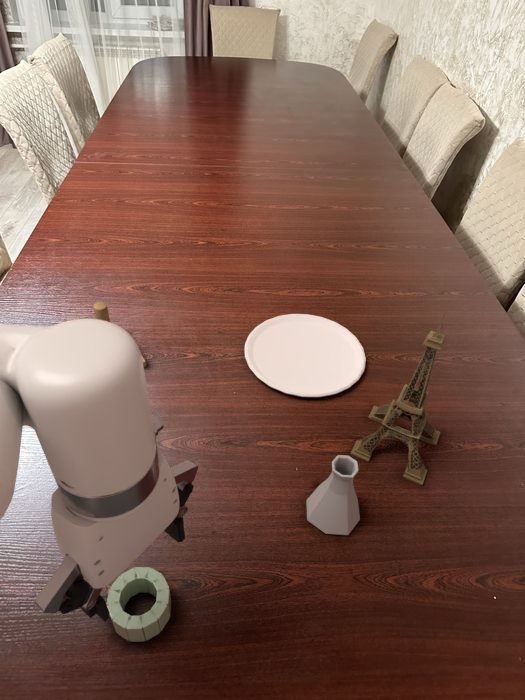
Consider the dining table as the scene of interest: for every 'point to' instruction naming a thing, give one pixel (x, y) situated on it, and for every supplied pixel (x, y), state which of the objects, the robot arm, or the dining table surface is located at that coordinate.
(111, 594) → the pale green ring
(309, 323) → the plate
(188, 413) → the dining table surface
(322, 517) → the flask
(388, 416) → the eiffel tower
